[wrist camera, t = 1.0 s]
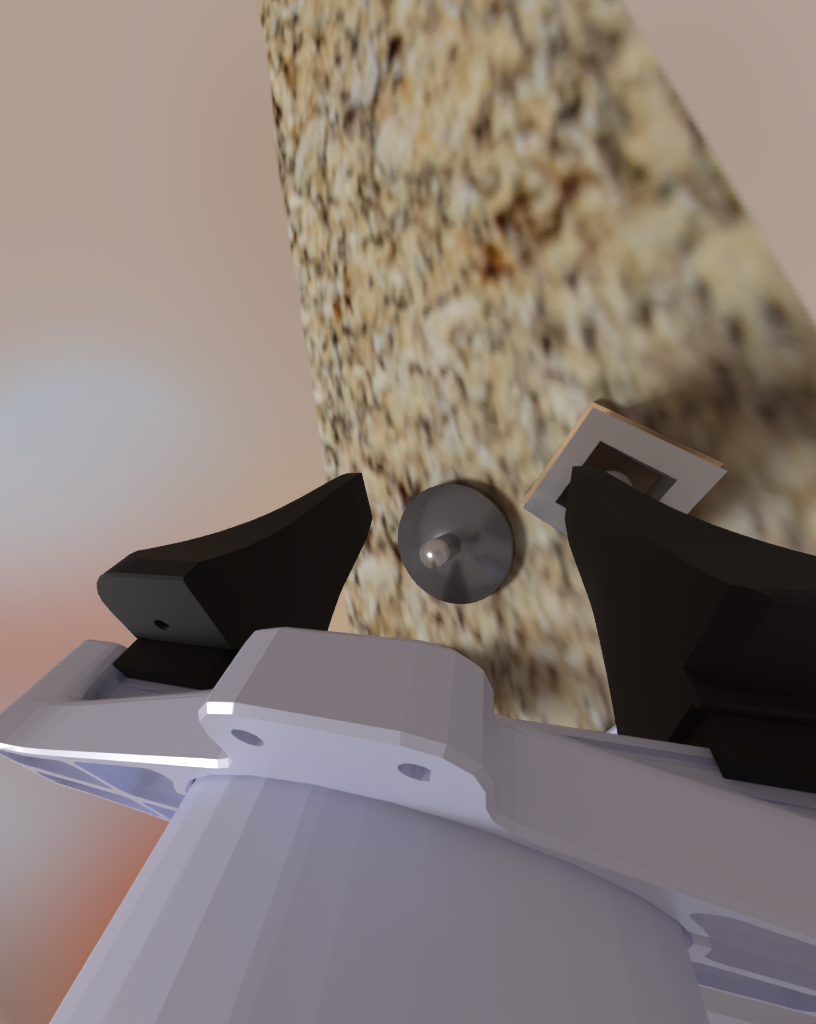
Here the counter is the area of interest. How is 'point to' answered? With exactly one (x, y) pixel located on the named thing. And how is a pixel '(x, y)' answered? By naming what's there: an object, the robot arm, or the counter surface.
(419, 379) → the counter surface
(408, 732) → the robot arm
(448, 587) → the hub
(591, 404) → the stand
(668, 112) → the counter surface
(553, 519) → the square metal tube
